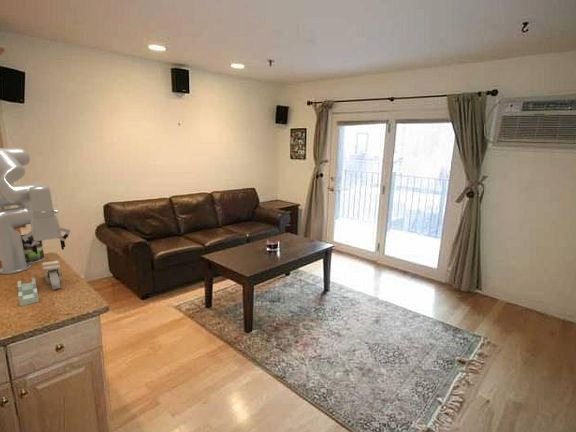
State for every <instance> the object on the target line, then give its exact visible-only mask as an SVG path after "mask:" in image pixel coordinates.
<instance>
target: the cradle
mask: <svg viewBox="0 0 576 432" xmlns="http://www.w3.org/2000/svg"><path fill="white" fill-rule="evenodd" d="M16 282H17V289H18V293H17V294H18V295H17V297H18V301H19V305H20V307H23V306H27V305H31V304H35V303H39V302H40V298H39V293H38V287H37V282H36V277H31V282H28V283H22V280H17V281H16Z"/></svg>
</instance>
